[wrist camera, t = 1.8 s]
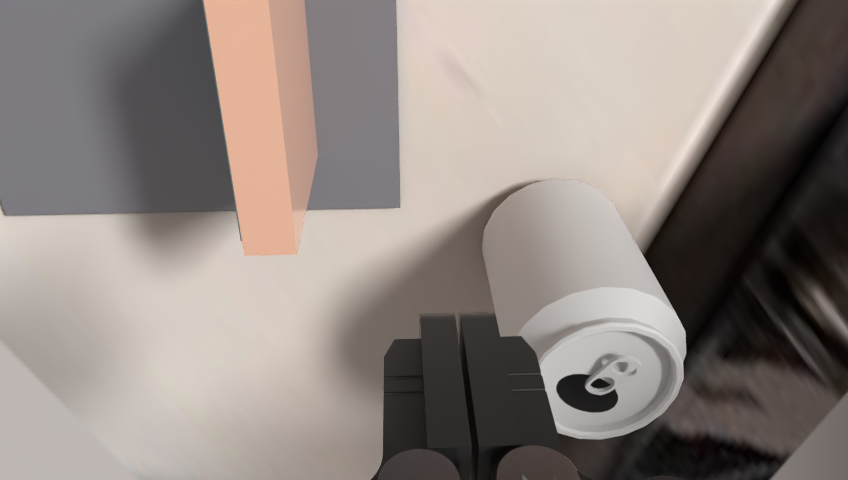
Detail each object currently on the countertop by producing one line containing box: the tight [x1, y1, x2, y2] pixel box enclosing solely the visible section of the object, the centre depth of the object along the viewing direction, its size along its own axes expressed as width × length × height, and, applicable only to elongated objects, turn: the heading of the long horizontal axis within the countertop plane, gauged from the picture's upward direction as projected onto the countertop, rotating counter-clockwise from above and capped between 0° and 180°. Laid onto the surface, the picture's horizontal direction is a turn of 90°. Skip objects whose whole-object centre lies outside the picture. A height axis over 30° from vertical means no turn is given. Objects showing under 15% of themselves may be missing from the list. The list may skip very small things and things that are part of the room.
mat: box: [0, 0, 400, 215], centre depth 31 cm, size 20×16×1 cm
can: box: [482, 179, 686, 439], centre depth 33 cm, size 8×8×12 cm
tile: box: [202, 0, 318, 256], centre depth 28 cm, size 2×10×9 cm, turn 0°
